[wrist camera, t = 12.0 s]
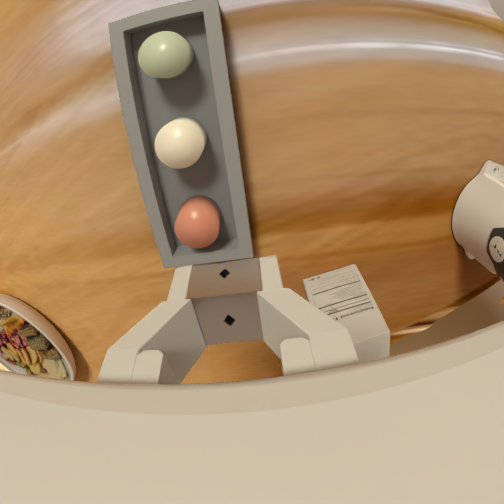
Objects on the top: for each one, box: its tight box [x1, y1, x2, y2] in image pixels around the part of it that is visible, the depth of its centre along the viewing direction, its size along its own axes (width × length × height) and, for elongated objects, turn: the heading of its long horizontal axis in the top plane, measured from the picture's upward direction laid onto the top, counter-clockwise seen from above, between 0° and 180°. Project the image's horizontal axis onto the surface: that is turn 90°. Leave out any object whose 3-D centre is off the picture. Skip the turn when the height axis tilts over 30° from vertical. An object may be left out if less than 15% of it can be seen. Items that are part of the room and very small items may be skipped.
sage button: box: [138, 31, 194, 78], centre depth 26 cm, size 5×5×4 cm
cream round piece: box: [155, 116, 207, 169], centre depth 31 cm, size 5×5×4 cm
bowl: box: [0, 293, 76, 381], centre depth 50 cm, size 30×30×8 cm
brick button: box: [175, 195, 221, 248], centre depth 36 cm, size 5×5×4 cm
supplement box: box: [303, 264, 390, 363], centre depth 42 cm, size 9×9×15 cm
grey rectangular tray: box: [109, 0, 253, 268], centre depth 32 cm, size 12×32×4 cm, turn 7°
